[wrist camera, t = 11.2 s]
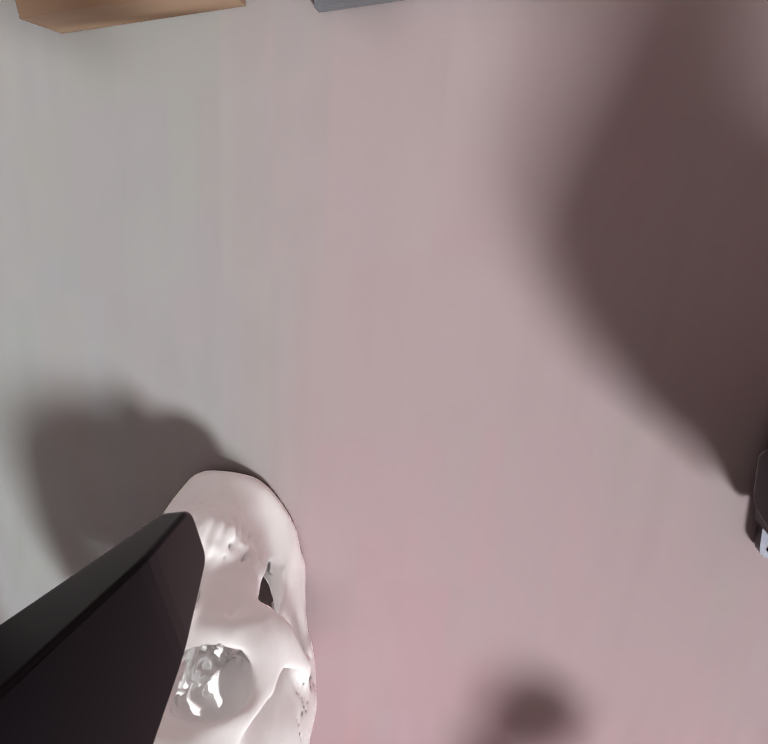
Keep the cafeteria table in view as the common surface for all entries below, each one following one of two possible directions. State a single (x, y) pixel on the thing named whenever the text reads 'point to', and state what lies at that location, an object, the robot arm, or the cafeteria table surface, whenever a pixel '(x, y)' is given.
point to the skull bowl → (243, 622)
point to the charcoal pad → (344, 4)
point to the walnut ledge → (110, 11)
